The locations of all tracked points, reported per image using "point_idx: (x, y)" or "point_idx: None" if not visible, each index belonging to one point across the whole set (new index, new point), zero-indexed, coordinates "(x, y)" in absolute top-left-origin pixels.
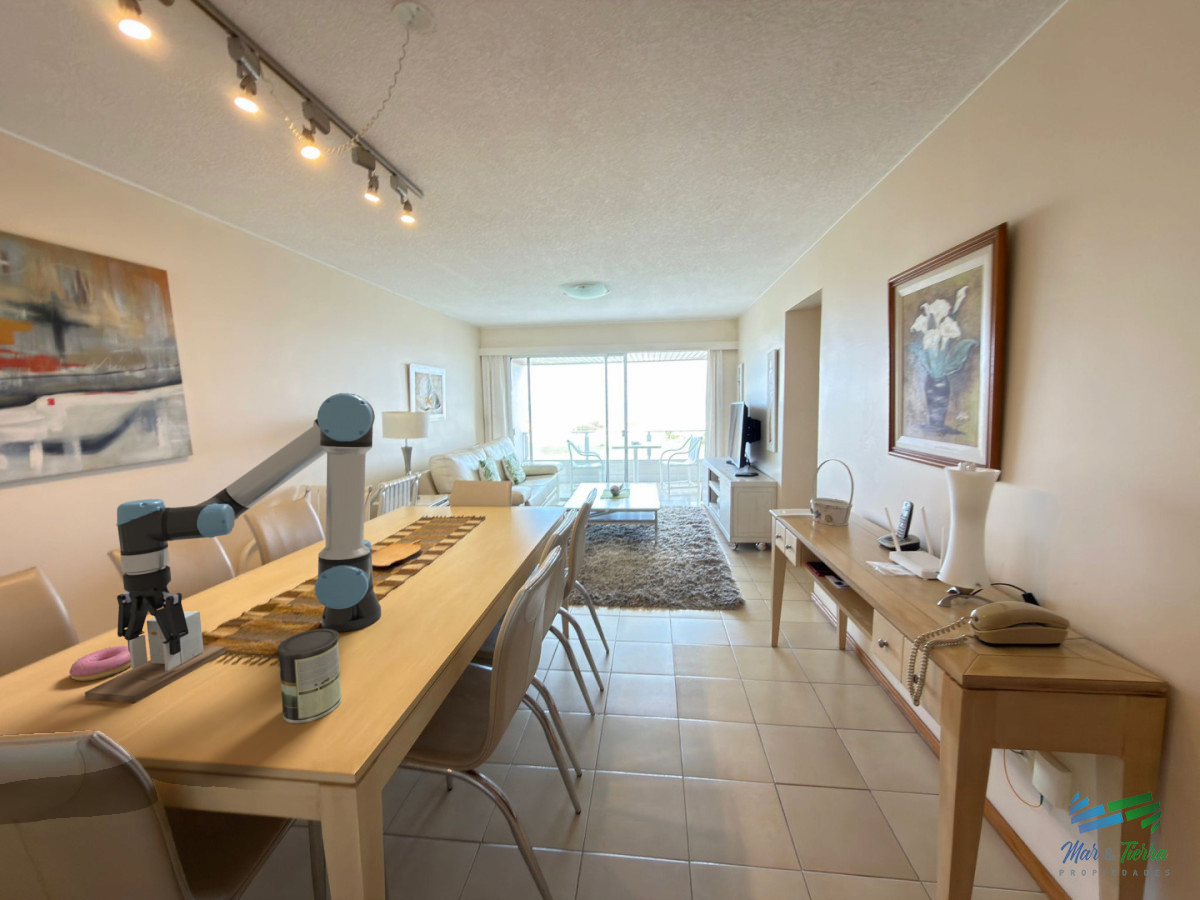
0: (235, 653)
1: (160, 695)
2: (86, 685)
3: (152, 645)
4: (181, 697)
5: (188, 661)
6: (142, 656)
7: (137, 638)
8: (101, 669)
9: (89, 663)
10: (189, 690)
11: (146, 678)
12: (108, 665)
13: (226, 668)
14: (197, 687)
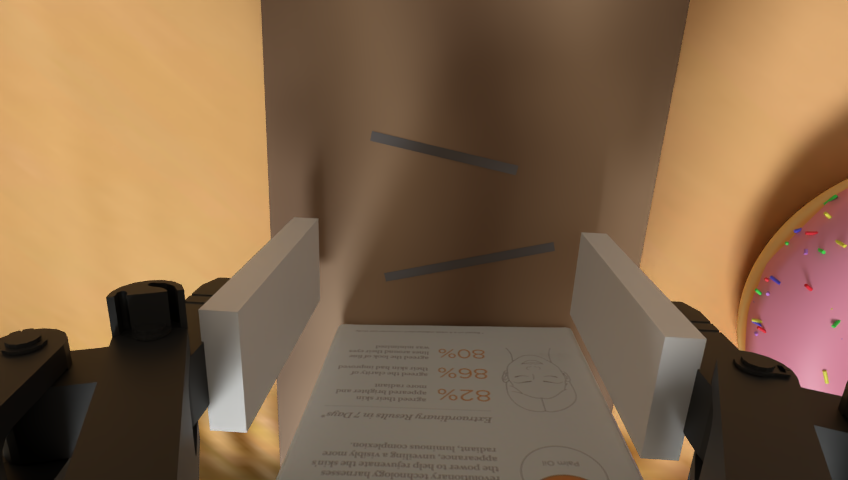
0: (226, 474)
1: (202, 50)
2: (835, 127)
3: (574, 405)
4: (44, 38)
5: None
6: (588, 313)
7: (653, 391)
8: (837, 214)
9: None
10: (79, 113)
11: (413, 161)
12: (820, 250)
13: None
14: (66, 146)
